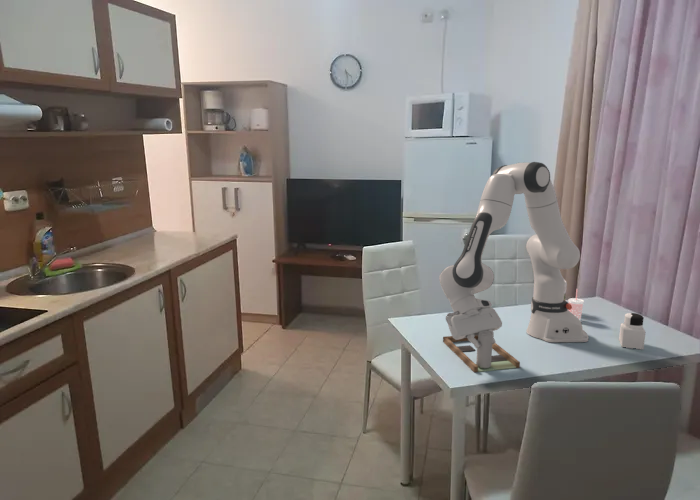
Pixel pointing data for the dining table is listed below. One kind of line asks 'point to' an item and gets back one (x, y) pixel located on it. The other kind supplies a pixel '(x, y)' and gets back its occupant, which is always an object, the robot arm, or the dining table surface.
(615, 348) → the dining table surface
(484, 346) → the beverage can
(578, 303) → the beverage cup
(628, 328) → the medicine bottle
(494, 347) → the box
